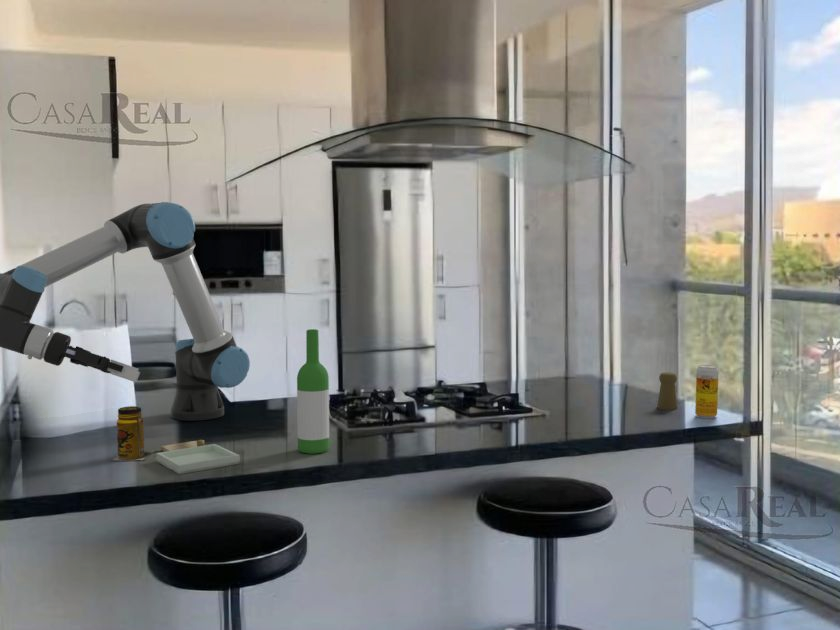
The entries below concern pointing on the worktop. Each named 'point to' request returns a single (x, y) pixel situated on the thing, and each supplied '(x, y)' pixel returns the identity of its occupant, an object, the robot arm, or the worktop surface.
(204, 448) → the tray
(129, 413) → the condiment
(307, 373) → the wine bottle
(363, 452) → the worktop surface
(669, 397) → the cork
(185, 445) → the bench board
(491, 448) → the worktop surface
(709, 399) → the beer can
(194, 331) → the robot arm
